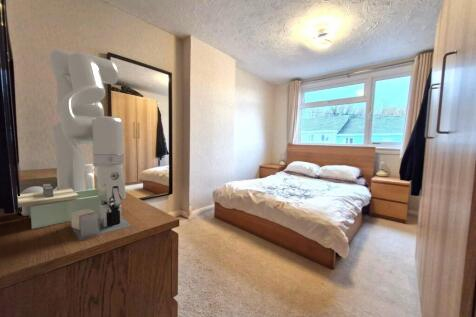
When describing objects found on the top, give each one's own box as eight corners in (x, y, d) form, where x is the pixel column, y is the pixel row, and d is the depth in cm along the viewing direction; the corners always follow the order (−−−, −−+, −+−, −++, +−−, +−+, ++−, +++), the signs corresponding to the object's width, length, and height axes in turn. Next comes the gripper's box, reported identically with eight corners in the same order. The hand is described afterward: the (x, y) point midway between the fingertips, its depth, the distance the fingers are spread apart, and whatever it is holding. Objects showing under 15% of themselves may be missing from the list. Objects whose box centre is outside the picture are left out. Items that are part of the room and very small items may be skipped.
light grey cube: (84, 229, 55) (84, 215, 55) (100, 227, 56) (100, 213, 56) (81, 236, 51) (80, 221, 51) (98, 234, 53) (97, 219, 52)
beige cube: (71, 226, 57) (71, 212, 56) (87, 221, 60) (87, 208, 60) (79, 230, 55) (78, 215, 54) (95, 224, 58) (95, 211, 58)
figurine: (78, 207, 74) (77, 165, 73) (79, 200, 82) (77, 163, 80) (102, 203, 78) (101, 164, 77) (101, 197, 86) (100, 162, 85)
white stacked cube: (99, 222, 60) (99, 205, 60) (116, 218, 63) (116, 202, 63) (104, 226, 57) (103, 209, 57) (121, 222, 60) (121, 205, 60)
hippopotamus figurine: (71, 209, 72) (70, 184, 71) (19, 219, 62) (17, 190, 61) (67, 204, 76) (66, 181, 76) (18, 213, 67) (16, 186, 66)
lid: (17, 197, 61) (17, 185, 61) (71, 191, 70) (70, 180, 70) (18, 207, 52) (17, 193, 52) (78, 198, 62) (78, 186, 61)
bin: (29, 218, 63) (28, 197, 62) (103, 204, 77) (102, 187, 77) (32, 230, 55) (30, 206, 54) (113, 212, 69) (113, 193, 69)
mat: (70, 226, 58) (70, 225, 58) (117, 215, 66) (117, 214, 66) (79, 241, 50) (79, 239, 49) (132, 226, 58) (132, 225, 58)
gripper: (134, 162, 56) (135, 227, 57) (114, 157, 67) (115, 212, 69) (102, 164, 50) (104, 235, 52) (86, 158, 62) (88, 217, 63)
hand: (110, 221), depth 60 cm, fingers closed on white stacked cube, 4 cm apart
